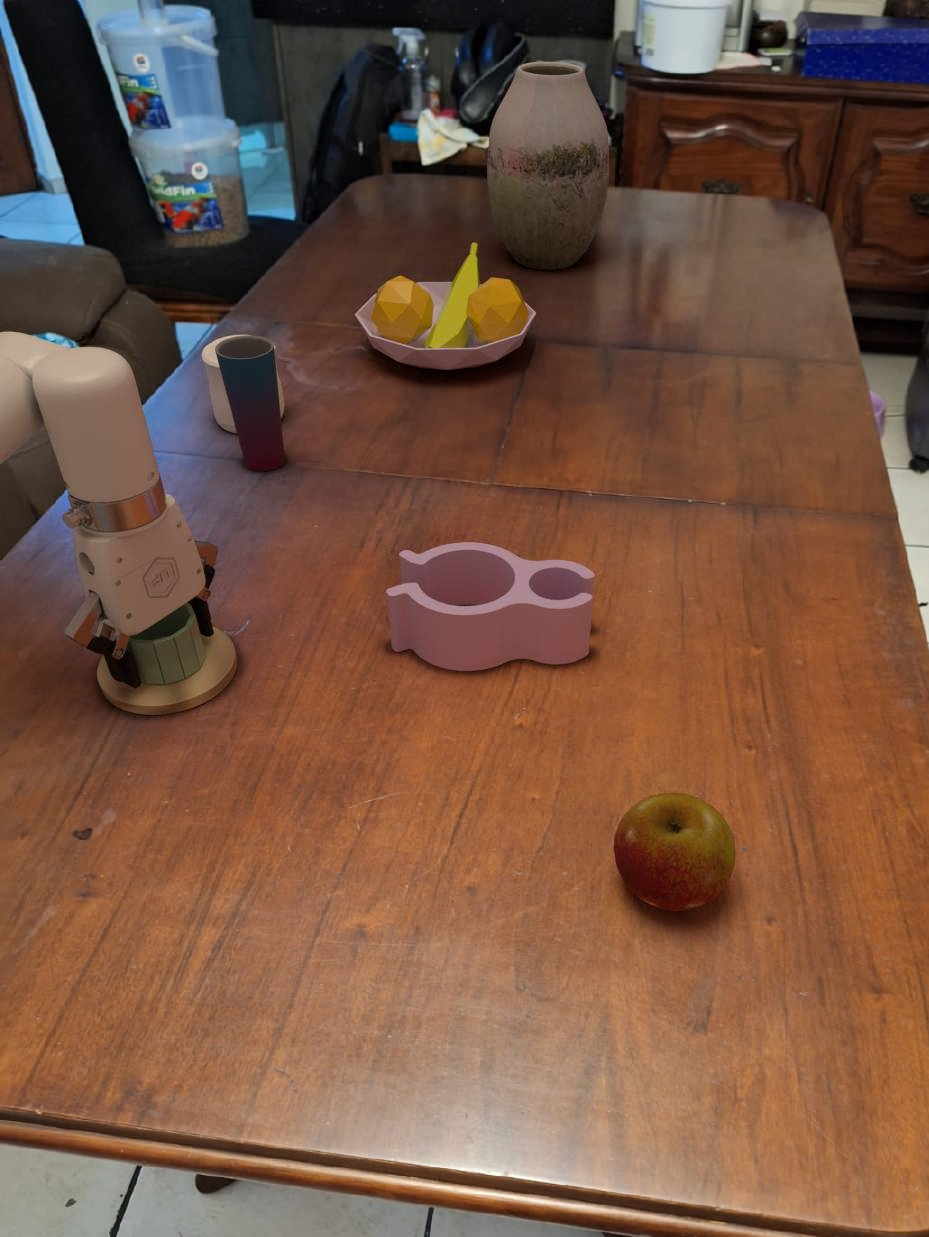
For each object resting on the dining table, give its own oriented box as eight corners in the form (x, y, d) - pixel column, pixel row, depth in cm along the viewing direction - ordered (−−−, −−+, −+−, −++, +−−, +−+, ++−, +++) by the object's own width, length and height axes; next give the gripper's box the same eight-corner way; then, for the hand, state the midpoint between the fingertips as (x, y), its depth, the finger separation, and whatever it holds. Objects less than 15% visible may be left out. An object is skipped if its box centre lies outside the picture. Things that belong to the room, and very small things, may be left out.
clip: (593, 605, 110) (596, 550, 105) (585, 680, 101) (589, 624, 96) (409, 592, 111) (404, 537, 106) (385, 665, 102) (379, 609, 97)
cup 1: (281, 398, 144) (271, 330, 137) (291, 431, 137) (280, 360, 130) (212, 406, 142) (197, 337, 135) (218, 440, 135) (203, 368, 128)
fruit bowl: (472, 405, 144) (470, 325, 136) (324, 359, 154) (314, 282, 146) (573, 339, 161) (576, 264, 154) (434, 301, 171) (430, 230, 164)
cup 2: (267, 480, 127) (246, 363, 117) (226, 465, 130) (202, 350, 120) (303, 457, 132) (285, 343, 122) (262, 443, 134) (242, 330, 124)
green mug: (220, 653, 100) (210, 613, 97) (164, 694, 96) (151, 652, 92) (149, 619, 104) (137, 578, 101) (92, 656, 100) (77, 615, 96)
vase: (620, 250, 192) (634, 63, 171) (577, 287, 178) (585, 88, 157) (518, 232, 198) (519, 50, 178) (468, 267, 184) (462, 73, 163)
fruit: (589, 893, 81) (594, 827, 76) (641, 821, 87) (650, 755, 82) (698, 948, 78) (712, 882, 72) (745, 869, 84) (761, 803, 78)
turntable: (123, 733, 94) (120, 723, 93) (83, 657, 101) (80, 647, 101) (258, 684, 99) (255, 674, 98) (209, 615, 107) (207, 606, 106)
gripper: (65, 560, 80) (121, 721, 92) (224, 469, 91) (257, 623, 103) (3, 531, 83) (66, 691, 95) (165, 446, 94) (203, 599, 106)
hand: (165, 655), depth 99 cm, fingers open, 8 cm apart
